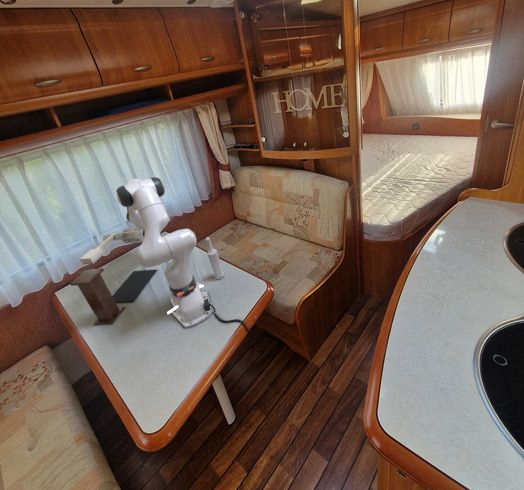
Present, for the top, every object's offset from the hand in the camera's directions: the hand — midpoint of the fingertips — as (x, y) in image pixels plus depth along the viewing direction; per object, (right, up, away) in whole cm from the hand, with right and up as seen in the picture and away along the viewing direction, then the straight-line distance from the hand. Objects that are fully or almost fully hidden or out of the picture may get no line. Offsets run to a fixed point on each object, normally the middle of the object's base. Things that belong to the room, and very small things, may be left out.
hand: (111, 236), depth 144 cm
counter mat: (+6, -30, +12) cm, 33 cm away
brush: (-1, -6, -7) cm, 9 cm away
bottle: (+57, -23, +5) cm, 62 cm away
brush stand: (+3, -39, -7) cm, 40 cm away
